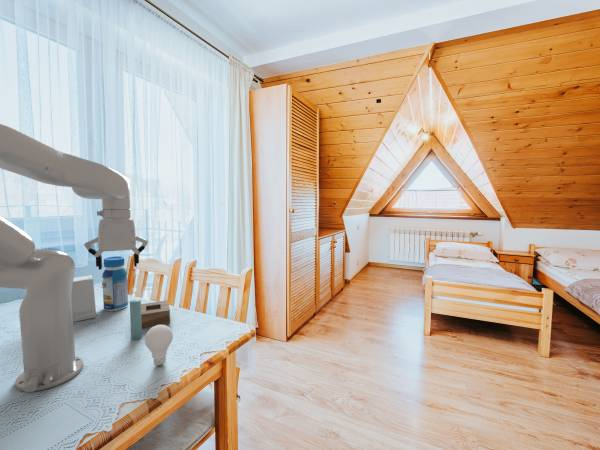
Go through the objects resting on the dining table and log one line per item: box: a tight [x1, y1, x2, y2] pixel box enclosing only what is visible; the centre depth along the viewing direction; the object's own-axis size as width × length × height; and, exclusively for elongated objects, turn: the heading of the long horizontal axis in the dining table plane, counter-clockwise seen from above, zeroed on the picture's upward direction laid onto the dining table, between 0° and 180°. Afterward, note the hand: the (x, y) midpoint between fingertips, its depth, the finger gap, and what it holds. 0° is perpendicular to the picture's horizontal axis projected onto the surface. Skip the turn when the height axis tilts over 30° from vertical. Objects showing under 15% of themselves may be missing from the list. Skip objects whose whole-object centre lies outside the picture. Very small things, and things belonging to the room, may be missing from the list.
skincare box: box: [72, 274, 97, 323], centre depth 101 cm, size 8×6×15 cm
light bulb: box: [144, 324, 174, 367], centre depth 75 cm, size 7×7×11 cm
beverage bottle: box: [101, 256, 129, 312], centre depth 111 cm, size 8×8×20 cm
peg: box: [129, 298, 143, 341], centre depth 89 cm, size 3×3×12 cm
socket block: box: [141, 300, 171, 330], centre depth 101 cm, size 10×10×5 cm
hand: (118, 267), depth 92 cm, fingers open, 9 cm apart
